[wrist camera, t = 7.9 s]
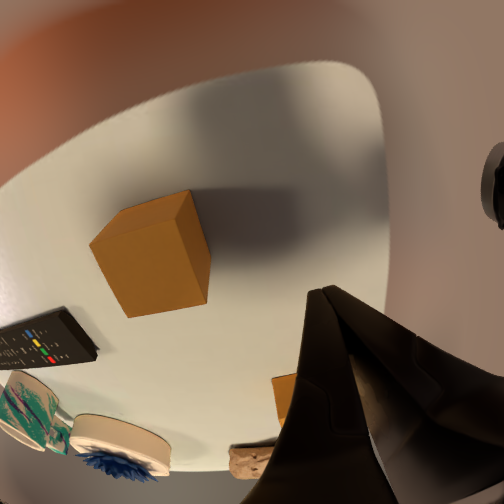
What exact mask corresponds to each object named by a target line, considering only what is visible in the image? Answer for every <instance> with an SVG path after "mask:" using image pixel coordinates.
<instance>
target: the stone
mask: <svg viewBox="0 0 504 504" xmlns="http://www.w3.org/2000/svg"><path fill="white" fill-rule="evenodd" d="M273 449H274V447H256V448H235V449H230V452H229V455H230V462H229V469H230V472H231V473H232V475H233V476H234V477H235V478H238V479H255V478H260V476H261V475H262V473H263V471H264V469H265V467H266V465H267V463H268V461H269V459H270V456H271V454H272V452H273Z"/></svg>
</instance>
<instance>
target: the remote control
mask: <svg viewBox="0 0 504 504" xmlns="http://www.w3.org/2000/svg"><path fill="white" fill-rule="evenodd" d="M97 356H98V355H97V353H96V350H95V348H94V346H93V344H92V342H91V340H90V339H89V337H88V336H87V335H86V333H85V332H84V331H83V329H82V328H81V327H80V326H79V325H78V323H77V322H76V321H75V320H74V319H73V318H72V317H70V316H69V315H67V314H66V313H64V312H63V311H58V312H55V313H52V314H49V315H46V316H43V317H40V318H37V319H34V320H31V321H28V322H24V323H21V324H18V325H15V326H12V327H9V328H6V329H3V330H0V370H13V369H29V368H41V367H52V366H61V365H70V364H78V363H85V362H93V361H96V358H97Z"/></svg>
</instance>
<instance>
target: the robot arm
mask: <svg viewBox="0 0 504 504" xmlns="http://www.w3.org/2000/svg"><path fill="white" fill-rule="evenodd" d="M494 176H495V184H496V194H497V207H498V227H499V228H500V229H501V230H503V229H504V162H503V163H502V164H500V165H499V166H498V167H497V168H496V169H495V172H494ZM296 375H297V376H296V378H295V384H294V389H293V394H292V398H291V403H290V406H289V409H288V412H287V415H286V418H285V421H284V424H283V427H282V429H281V432H280V434H279V437H278V439H277V442H276V444H275V447H274V449H273V452H272V454H271V456H270V459H269V461H268V463H267V465H266V467H265V469H264V471H263V473H262V475H261V476H260V478H259V480H258V481H257V483H256V484H255V486H254V487H253V488H252V489H251V491H250V492H249V493H248V495H247V496H246V497H245V498H244V499H243V501H242V502H241V503H240V504H504V377H502V376H497V375H493V374H491V373H489V372H486V371H484V370H482V369H480V368H478V367H476V366H474V365H472V364H470V363H467V362H465V361H463V360H461V359H459V358H457V357H455V356H453V355H451V354H449V353H447V352H445V351H443V350H441V349H440V348H438V347H436V346H434V345H433V344H431V343H429V342H428V341H426V340H424V339H423V338H421V337H420V336H417V337H416V334H415V333H413V332H411V331H410V330H408V329H406V328H405V327H403V326H402V325H400V324H398V323H396V322H395V321H393V320H392V319H390V318H389V317H387V316H385V315H384V314H382V313H380V312H379V311H377V310H375V309H374V308H372V307H370V306H369V305H367V304H365V303H364V302H362V301H361V300H359V299H357V298H356V297H354V296H352V295H351V294H349V293H347V292H346V291H344V290H342V289H341V288H339V287H337V286H335V285H330V286H326V287H323V288H322V289H315V290H311V291H308V294H307V303H306V311H305V319H304V326H303V334H302V341H301V348H300V354H299V361H298V367H297V373H296ZM367 426H368V427H367ZM368 428H369V431H370V433H371V435H372V438H373V440H374V443H375V445H376V447H377V450H378V452H379V455H380V457H381V460H382V462H383V464H384V467H385V470H386V473H387V475H388V478H389V481H390V483H391V486H392V488H393V490H392V488H391V486H390V484H389V482H388V480H387V479H386V476H385V474H384V473H383V470H382V468H381V466H380V464H379V463H378V460H377V458H376V456H375V454H374V451H373V448H372V444H371V440H370V436H369V431H368ZM393 491H394V492H393ZM0 504H8V503H6V502H4V501H2V500H1V499H0Z"/></svg>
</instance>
